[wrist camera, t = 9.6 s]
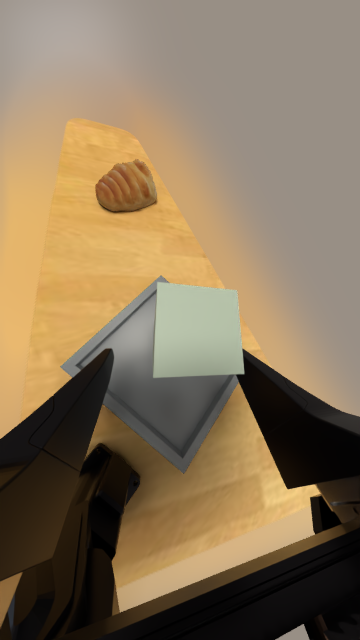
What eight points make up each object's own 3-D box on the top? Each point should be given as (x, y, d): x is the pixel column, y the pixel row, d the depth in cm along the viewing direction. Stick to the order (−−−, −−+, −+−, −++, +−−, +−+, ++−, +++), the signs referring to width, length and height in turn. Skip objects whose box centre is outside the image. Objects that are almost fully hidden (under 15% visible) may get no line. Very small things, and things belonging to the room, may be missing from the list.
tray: (180, 458, 16) (183, 473, 14) (71, 364, 16) (60, 366, 14) (243, 357, 21) (252, 358, 19) (160, 281, 20) (161, 275, 18)
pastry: (114, 224, 21) (106, 198, 17) (89, 193, 21) (75, 161, 17) (160, 203, 23) (161, 177, 20) (136, 176, 24) (133, 145, 20)
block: (182, 354, 18) (244, 373, 6) (152, 355, 17) (152, 377, 5) (182, 326, 18) (237, 290, 7) (154, 325, 18) (157, 282, 6)
